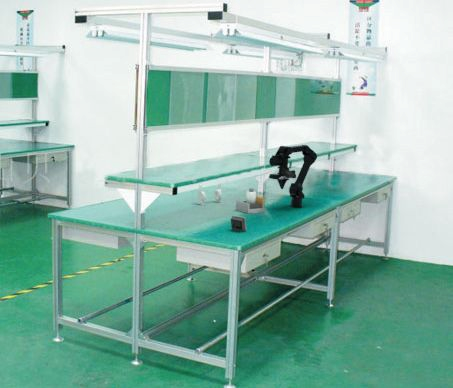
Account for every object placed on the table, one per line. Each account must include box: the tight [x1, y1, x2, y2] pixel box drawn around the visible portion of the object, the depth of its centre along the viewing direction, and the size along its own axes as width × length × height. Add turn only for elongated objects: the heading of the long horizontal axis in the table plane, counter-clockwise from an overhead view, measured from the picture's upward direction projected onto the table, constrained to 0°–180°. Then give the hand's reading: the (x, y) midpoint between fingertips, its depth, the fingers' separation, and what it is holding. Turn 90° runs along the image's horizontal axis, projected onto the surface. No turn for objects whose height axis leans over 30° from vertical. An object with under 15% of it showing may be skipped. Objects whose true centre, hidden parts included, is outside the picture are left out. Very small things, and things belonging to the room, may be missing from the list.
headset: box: [197, 183, 223, 206], centre depth 435 cm, size 20×7×18 cm, turn 137°
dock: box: [235, 199, 265, 215], centre depth 417 cm, size 13×13×6 cm
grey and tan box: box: [241, 195, 265, 211], centre depth 417 cm, size 11×12×8 cm
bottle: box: [245, 187, 257, 204], centre depth 417 cm, size 6×6×13 cm
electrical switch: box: [230, 214, 247, 232], centre depth 361 cm, size 8×5×8 cm, turn 60°
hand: (281, 189), depth 429 cm, fingers closed
